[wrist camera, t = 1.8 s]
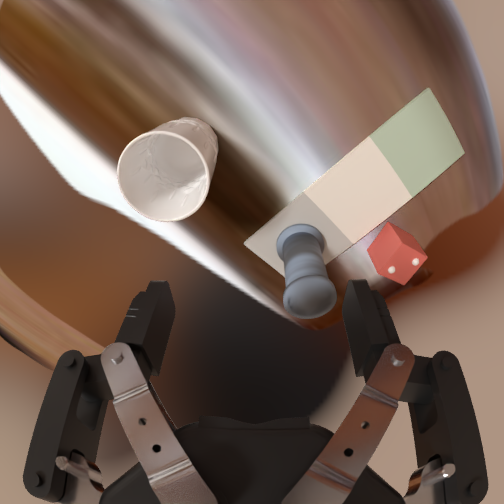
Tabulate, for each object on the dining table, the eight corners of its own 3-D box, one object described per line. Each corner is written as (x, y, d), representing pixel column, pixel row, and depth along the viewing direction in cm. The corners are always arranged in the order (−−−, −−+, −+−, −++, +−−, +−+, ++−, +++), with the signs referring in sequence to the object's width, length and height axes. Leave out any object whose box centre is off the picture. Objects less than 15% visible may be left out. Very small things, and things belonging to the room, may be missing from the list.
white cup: (210, 187, 33) (193, 234, 25) (147, 166, 31) (110, 205, 23) (234, 125, 28) (224, 150, 20) (166, 102, 27) (127, 119, 19)
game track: (244, 242, 37) (243, 244, 37) (427, 87, 24) (429, 87, 24) (295, 284, 41) (296, 285, 41) (463, 151, 28) (464, 153, 28)
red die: (366, 249, 37) (379, 276, 33) (387, 221, 34) (404, 245, 30) (392, 262, 38) (405, 287, 34) (412, 235, 36) (429, 259, 31)
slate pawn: (266, 244, 37) (267, 301, 28) (302, 214, 34) (315, 267, 26) (297, 270, 39) (305, 327, 31) (332, 244, 36) (350, 299, 28)
